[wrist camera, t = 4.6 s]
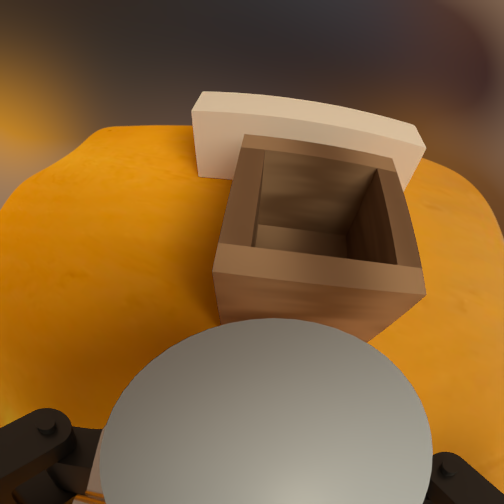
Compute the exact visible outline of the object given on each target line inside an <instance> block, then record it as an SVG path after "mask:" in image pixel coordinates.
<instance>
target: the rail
mask: <svg viewBox="0 0 504 504" xmlns="http://www.w3.org/2000/svg"><path fill="white" fill-rule="evenodd" d="M191 112H192V121H193V132H194V141H195V150H196V159H197V168H198V176H199V177H208V178H219V179H230V180H233V177H234V173H235V169H236V165H237V161H238V157H239V153H240V149H241V145H242V141H243V137H244V134H249V135H259V136H268V137H277V138H285V139H292V140H299V141H306V142H313V143H319V144H325V145H331V146H336V147H342V148H347V149H352V150H357V151H362V152H367V153H371V154H376V155H380V156H384V157H389V158H392V159H393V162H394V165H395V168H396V171H397V174H398V177H399V180H400V183H401V186H402V190H403V192H404V190H405V188H406V186H407V184H408V183H409V181H410V179H411V177H412V175H413V173H414V171H415V169H416V167H417V166H418V164H419V162H420V160H421V158H422V156H423V154H424V152H425V150H426V146H425V145H424V143H423V141H422V139H421V137H420V135H419V133H418V131H417V129H416V127H415V126H414V125H412V124H409V123H405V122H402V121H398V120H395V119H391V118H387V117H384V116H380V115H376V114H372V113H368V112H363V111H359V110H354V109H350V108H346V107H340V106H336V105H330V104H325V103H319V102H313V101H307V100H300V99H293V98H285V97H277V96H267V95H258V94H246V93H230V92H229V93H228V92H204V91H203V92H202V94H201V95H200V97H199V99H198V100H197V102H196V104H195V106H194V107H193V109H192V111H191Z"/></svg>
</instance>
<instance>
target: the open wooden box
mask: <svg viewBox="0 0 504 504" xmlns="http://www.w3.org/2000/svg"><path fill="white" fill-rule="evenodd" d="M212 274H213V281H214V287H215V293H216V299H217V305H218V311H219V317H220V322H221V325H224V324H228V323H233V322H239V321H245V320H250V319H266V318H281V319H297V320H303V321H309V322H315V323H319V324H322V325H326V326H329V327H333V328H336V329H339V330H341V331H343V332H346V333H348V334H351V335H353V336H355V337H357V338H359V339H360V340H362V341H364V342H366V343H367V342H368V341H370V340H371V339H372V338H374V337H375V336H376V335H378V334H379V333H380V332H382V331H383V330H384V329H386V328H387V327H388V326H389V325H391V324H392V323H393V322H394V321H396V320H397V319H398V318H399V317H401V316H402V315H403V314H404V313H406V312H407V311H408V310H409V309H410V308H412V307H413V306H414V305H415V304H416V303H418V302H419V301H420V300H421V299H422V298H423V297H424V296H426V289H425V283H424V277H423V272H422V266H421V261H420V256H419V252H418V247H417V242H416V238H415V234H414V230H413V226H412V222H411V218H410V214H409V210H408V207H407V203H406V200H405V196H404V193H403V190H402V186H401V183H400V180H399V177H398V174H397V171H396V168H395V165H394V162H393V159H392V158H389V157H384V156H380V155H376V154H371V153H367V152H362V151H357V150H352V149H347V148H342V147H336V146H331V145H325V144H319V143H313V142H306V141H299V140H292V139H285V138H277V137H268V136H259V135H249V134H244V137H243V141H242V145H241V149H240V153H239V157H238V161H237V165H236V169H235V173H234V177H233V181H232V185H231V190H230V194H229V198H228V202H227V206H226V211H225V215H224V219H223V224H222V228H221V233H220V237H219V241H218V246H217V251H216V255H215V260H214V264H213V269H212Z"/></svg>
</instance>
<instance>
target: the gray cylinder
mask: <svg viewBox="0 0 504 504" xmlns="http://www.w3.org/2000/svg"><path fill="white" fill-rule="evenodd" d="M432 456H433V449H432V438H431V432H430V427H429V423H428V419H427V416H426V413H425V411H424V408H423V406H422V403H421V401H420V399H419V397H418V395H417V394H416V392H415V390H414V388H413V387H412V385H411V384H410V382H409V381H408V380H407V378H406V377H405V376H404V375H403V373H402V372H401V371H400V370H399V369H398V368H397V367H396V366H395V365H394V364H393V363H392V362H391V361H390V360H389V359H388V358H387V357H386V356H384V355H383V354H382V353H380V352H379V351H378V350H376V349H375V348H374V347H372V346H371V345H369V344H367V343H366V342H364V341H362V340H360V339H359V338H357V337H355V336H353V335H351V334H348V333H346V332H343V331H341V330H339V329H336V328H333V327H329V326H326V325H322V324H319V323H315V322H309V321H303V320H297V319H281V318H266V319H250V320H245V321H239V322H233V323H228V324H224V325H221V326H218V327H214V328H211V329H207V330H205V331H203V332H200V333H198V334H195V335H193V336H190V337H188V338H186V339H184V340H183V341H181V342H179V343H177V344H175V345H174V346H172V347H170V348H168V349H167V350H166V351H164V352H163V353H162V354H160V355H159V356H157V357H156V358H155V359H153V360H152V361H151V362H150V363H149V364H148V365H147V366H145V367H144V368H143V369H142V370H141V371H140V372H139V373H138V374H137V375H136V376H135V377H134V379H133V380H132V381H131V382H130V384H129V385H128V386H127V387H126V389H125V390H124V391H123V392H122V394H121V396H120V398H119V399H118V401H117V403H116V404H115V406H114V408H113V410H112V412H111V414H110V417H109V419H108V422H107V424H106V427H105V430H104V435H103V439H102V443H101V450H100V465H99V468H100V479H101V487H102V491H103V495H104V499H105V502H106V504H423V501H424V498H425V496H426V493H427V490H428V486H429V481H430V476H431V471H432Z"/></svg>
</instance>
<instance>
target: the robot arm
mask: <svg viewBox="0 0 504 504" xmlns="http://www.w3.org/2000/svg"><path fill="white" fill-rule="evenodd" d="M105 427H106V426H105ZM105 427H104V428H103V429H88V428H80V427H73V426H72V425H71V422H70V420H69V418H68V417H67V416H66V415H65V414H64V413H62V412H61V411H58V410H56V409H51V408H43V409H38V410H35V411H33V412H31V413H29V414H27V415H25V416H23V417H21V418H19V419H17V420H15V421H14V422H12V423H10V424H8V425H6V426H4V427H2V428H0V504H106V502H105V499H104V495H103V491H102V487H101V479H100V468H99V465H100V450H101V443H102V439H103V435H104V430H105ZM423 504H504V494H503V493H502V492H500V491H499V490H498V489H497V488H496V487H494V486H493V485H492V484H491V483H490V482H489V481H487V480H486V479H485V478H484V477H483V476H482V475H481V474H479V473H478V472H477V471H476V470H475V469H474V468H472V467H471V466H470V465H469V464H468V463H467V462H466V461H464V460H463V459H462V458H461V457H460V456H458V455H456V454H454V453H450V452H440V453H437V454H435V455H433V456H432V471H431V476H430V481H429V486H428V490H427V493H426V496H425V498H424V501H423Z"/></svg>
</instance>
